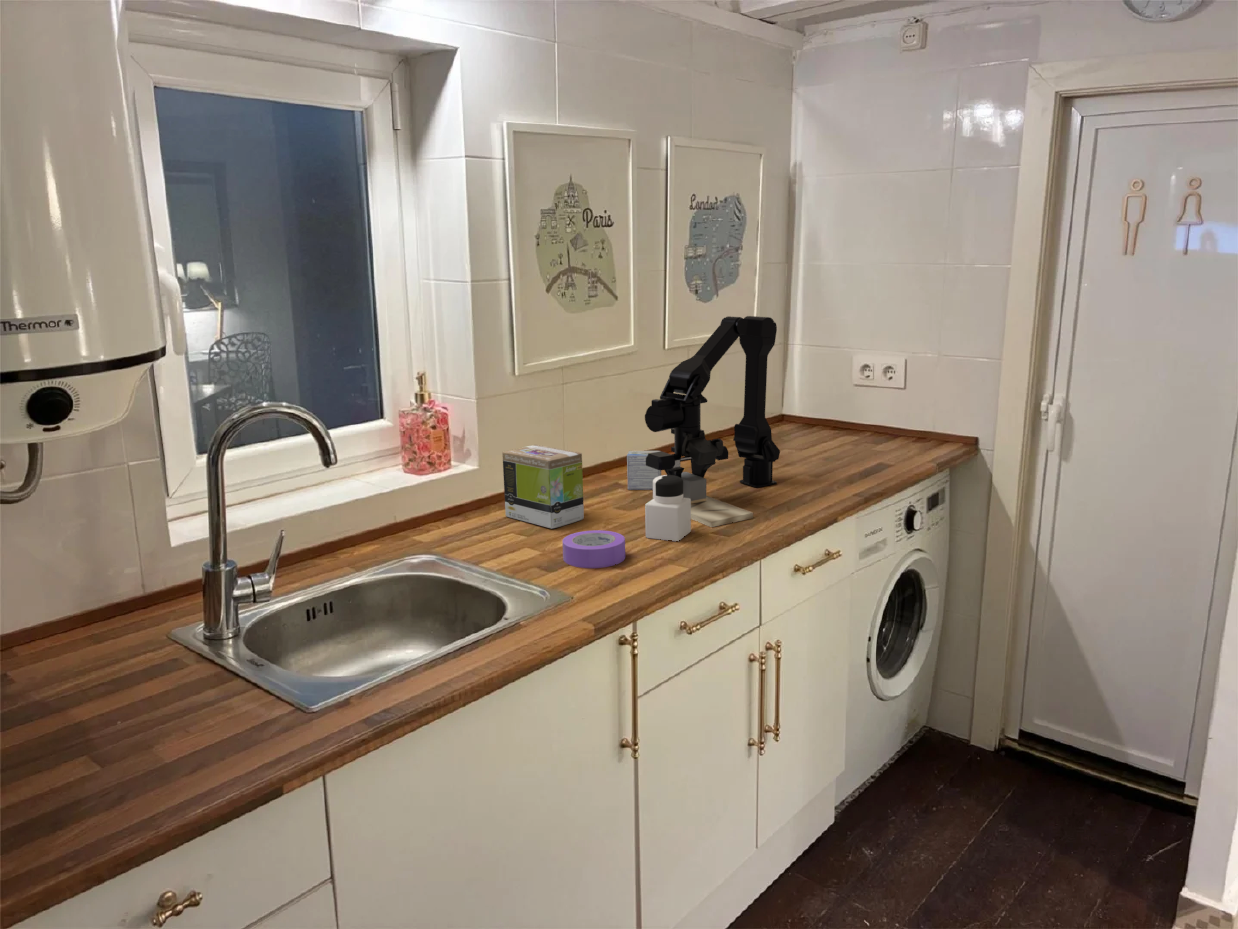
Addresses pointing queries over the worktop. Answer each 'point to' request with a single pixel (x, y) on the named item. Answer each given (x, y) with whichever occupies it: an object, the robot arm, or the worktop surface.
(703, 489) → the block
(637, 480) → the medicine box
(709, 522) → the board
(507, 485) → the tea box
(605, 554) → the masking tape
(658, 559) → the worktop surface
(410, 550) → the worktop surface
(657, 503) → the medicine bottle
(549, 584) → the worktop surface
